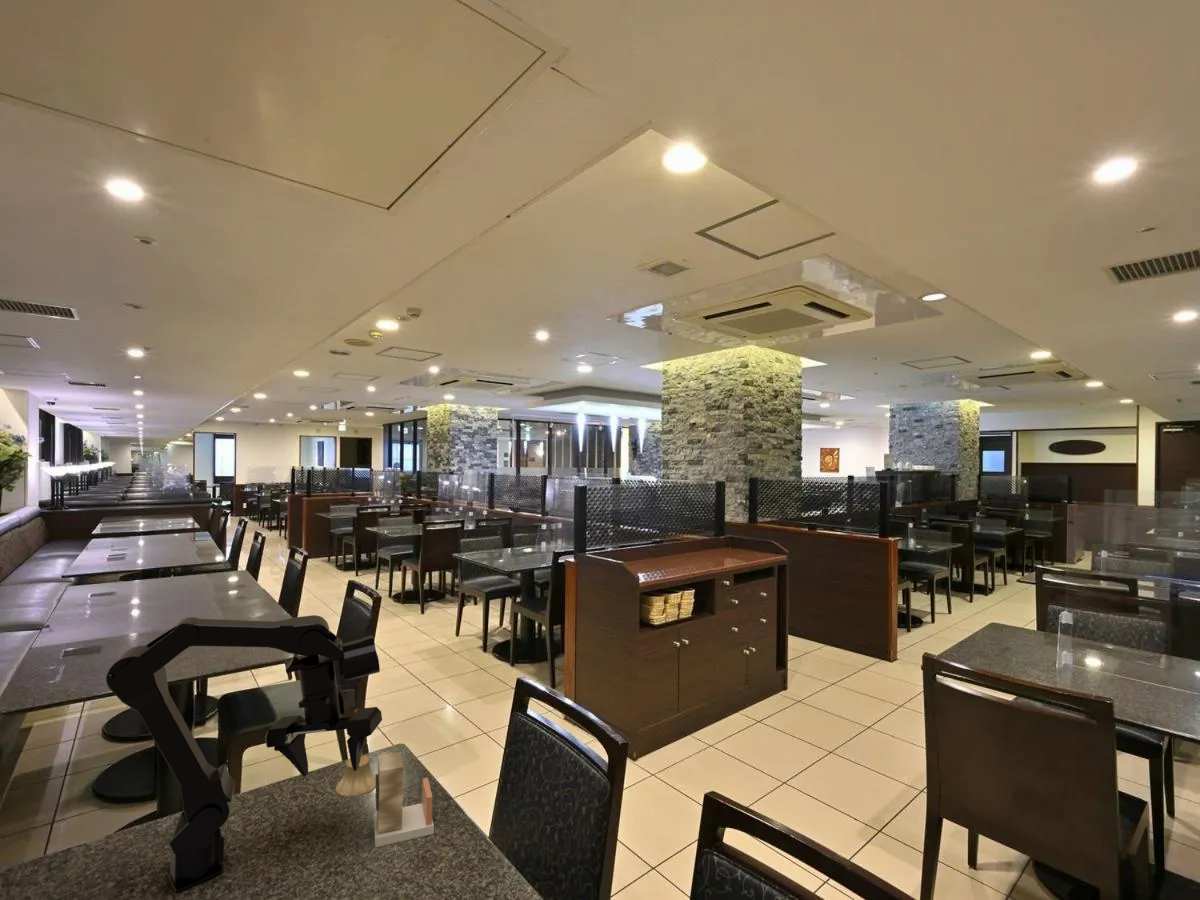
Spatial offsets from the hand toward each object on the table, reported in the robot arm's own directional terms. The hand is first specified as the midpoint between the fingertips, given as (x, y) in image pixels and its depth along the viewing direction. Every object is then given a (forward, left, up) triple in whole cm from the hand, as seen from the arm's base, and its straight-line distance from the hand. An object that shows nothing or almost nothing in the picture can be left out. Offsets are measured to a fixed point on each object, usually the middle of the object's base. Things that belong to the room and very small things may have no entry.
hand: (331, 772), depth 104 cm
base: (+11, -6, -12) cm, 17 cm away
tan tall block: (+8, -5, -10) cm, 14 cm away
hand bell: (+11, +13, -12) cm, 21 cm away
